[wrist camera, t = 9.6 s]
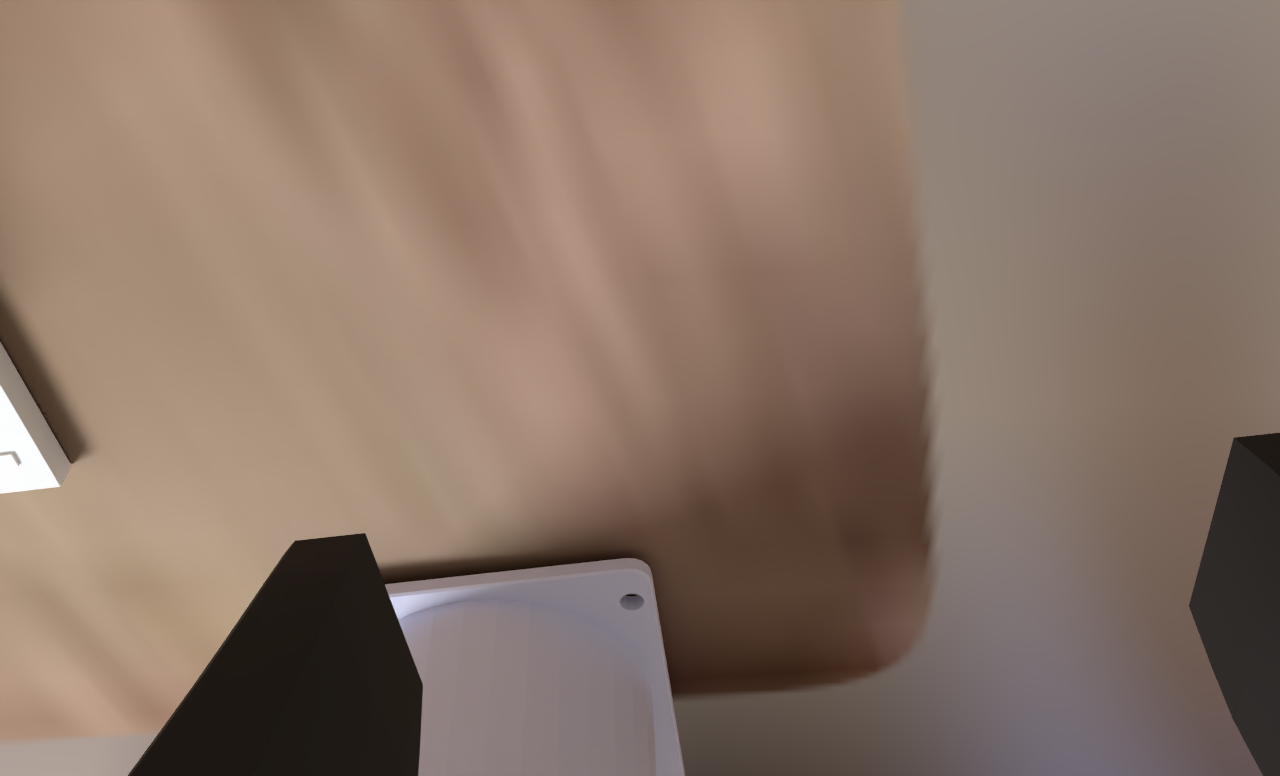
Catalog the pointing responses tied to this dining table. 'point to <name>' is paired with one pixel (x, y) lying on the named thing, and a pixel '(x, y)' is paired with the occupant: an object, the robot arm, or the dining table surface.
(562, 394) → the dining table surface
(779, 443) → the dining table surface
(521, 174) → the dining table surface
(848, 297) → the dining table surface
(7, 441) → the white board
